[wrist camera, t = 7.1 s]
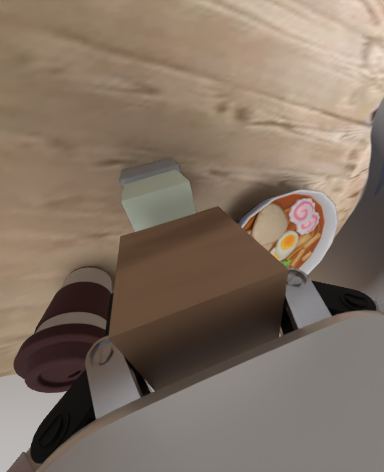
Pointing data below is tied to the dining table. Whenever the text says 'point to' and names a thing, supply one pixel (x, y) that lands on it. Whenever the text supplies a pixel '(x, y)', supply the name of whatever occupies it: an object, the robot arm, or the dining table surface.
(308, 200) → the ramen bowl
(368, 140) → the dining table surface
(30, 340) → the coffee cup
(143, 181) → the tower mid
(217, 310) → the walnut cube
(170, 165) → the tower base
